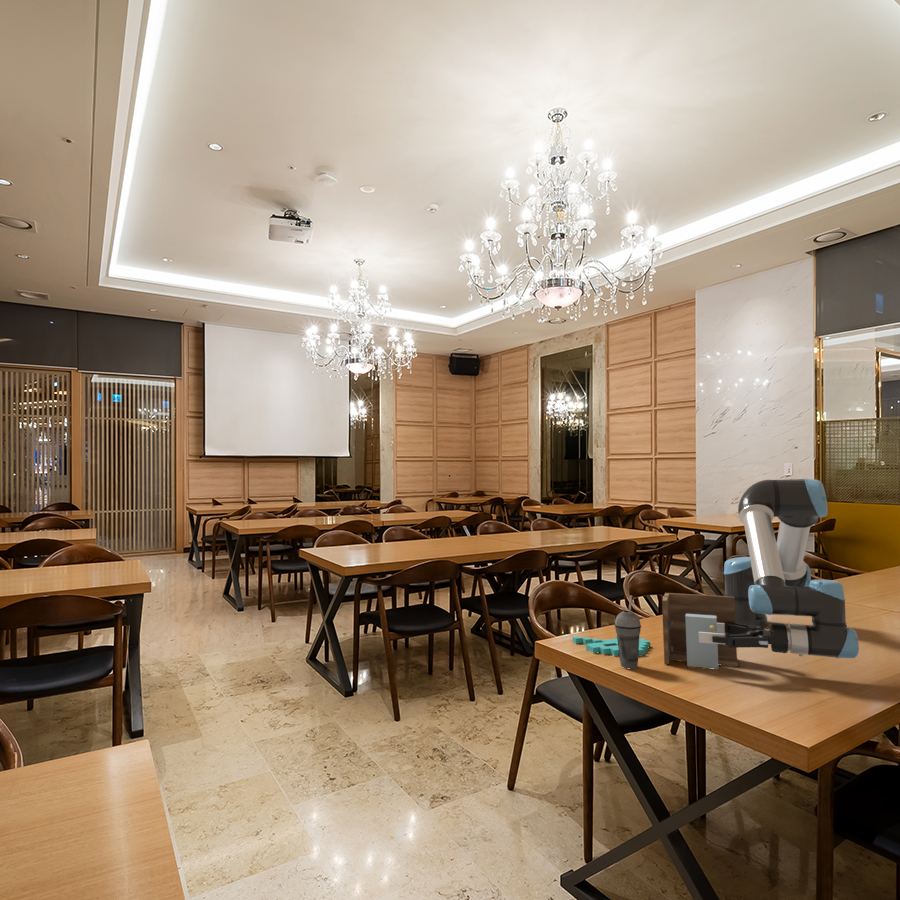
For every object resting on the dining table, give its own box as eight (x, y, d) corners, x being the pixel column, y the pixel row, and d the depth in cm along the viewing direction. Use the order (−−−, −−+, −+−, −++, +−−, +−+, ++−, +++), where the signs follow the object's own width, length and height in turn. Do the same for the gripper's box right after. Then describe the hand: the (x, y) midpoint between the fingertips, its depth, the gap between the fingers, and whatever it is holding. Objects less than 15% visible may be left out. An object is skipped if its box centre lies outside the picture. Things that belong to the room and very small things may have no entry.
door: (687, 663, 168) (685, 613, 169) (718, 666, 165) (716, 615, 165) (687, 667, 163) (685, 617, 164) (718, 671, 160) (716, 619, 161)
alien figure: (572, 643, 191) (604, 661, 172) (572, 636, 191) (604, 653, 172) (626, 638, 197) (663, 654, 177) (626, 631, 197) (663, 647, 177)
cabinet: (667, 652, 178) (665, 592, 179) (736, 659, 170) (734, 596, 171) (664, 664, 167) (662, 600, 168) (738, 672, 159) (735, 605, 160)
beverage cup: (617, 661, 170) (614, 592, 171) (643, 664, 167) (640, 593, 168) (614, 669, 163) (612, 597, 164) (641, 672, 160) (639, 598, 162)
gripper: (793, 666, 145) (698, 656, 154) (783, 641, 167) (700, 634, 176) (792, 635, 145) (697, 627, 154) (782, 614, 167) (699, 609, 176)
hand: (699, 631), depth 165 cm, fingers open, 12 cm apart
